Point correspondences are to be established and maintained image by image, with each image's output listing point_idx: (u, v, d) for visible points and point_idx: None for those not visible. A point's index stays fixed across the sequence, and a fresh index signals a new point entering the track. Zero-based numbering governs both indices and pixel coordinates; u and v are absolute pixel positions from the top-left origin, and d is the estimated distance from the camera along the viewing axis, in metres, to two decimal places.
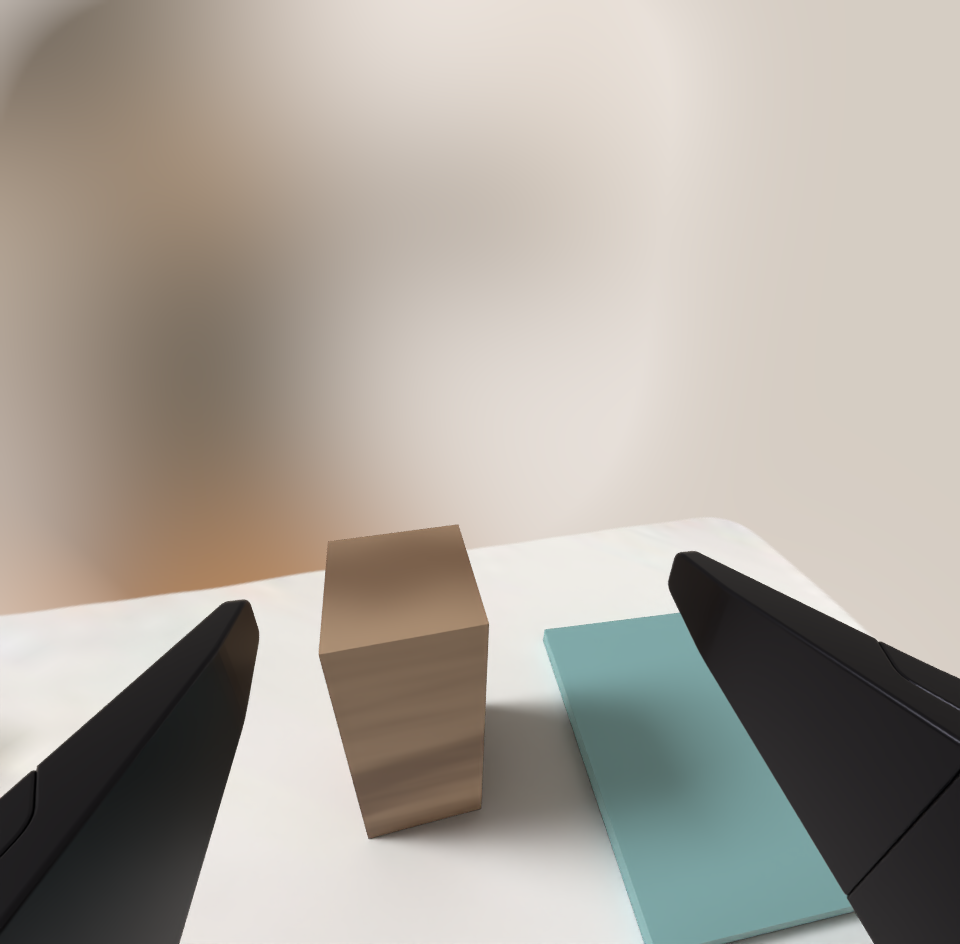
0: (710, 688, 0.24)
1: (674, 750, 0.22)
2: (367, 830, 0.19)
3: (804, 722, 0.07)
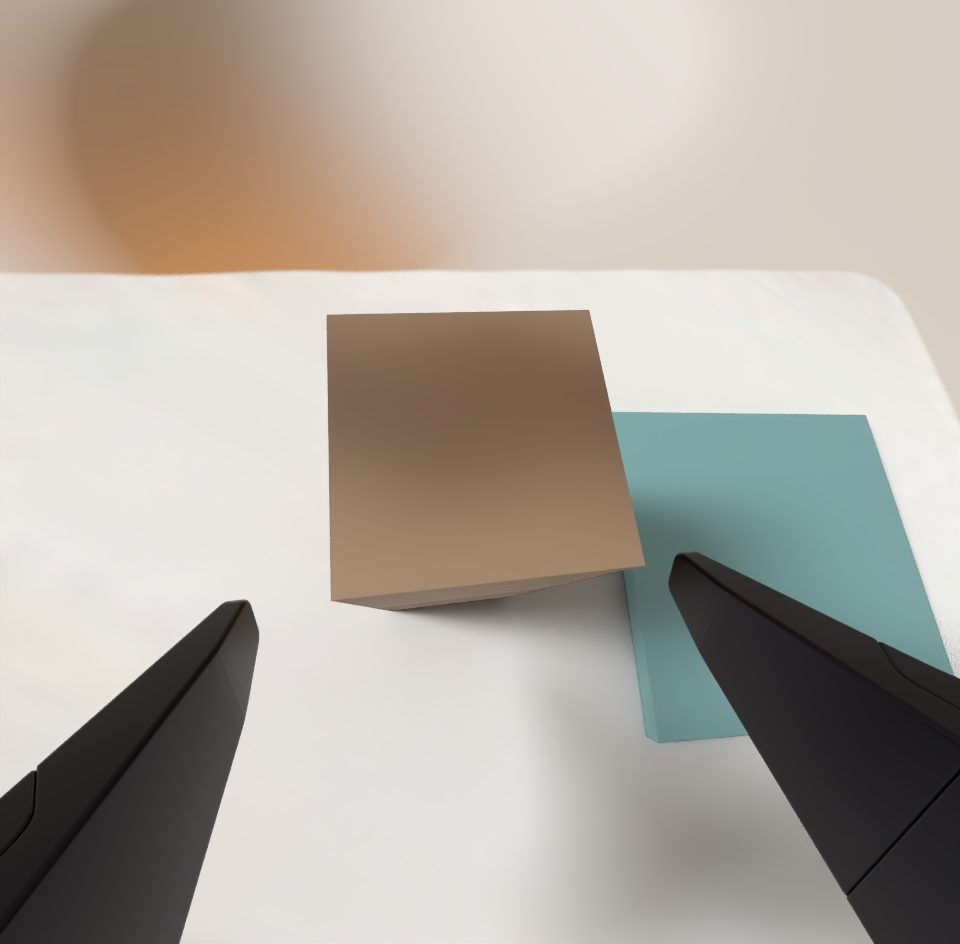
0: (785, 512, 0.21)
1: None
2: (389, 610, 0.18)
3: (804, 722, 0.07)
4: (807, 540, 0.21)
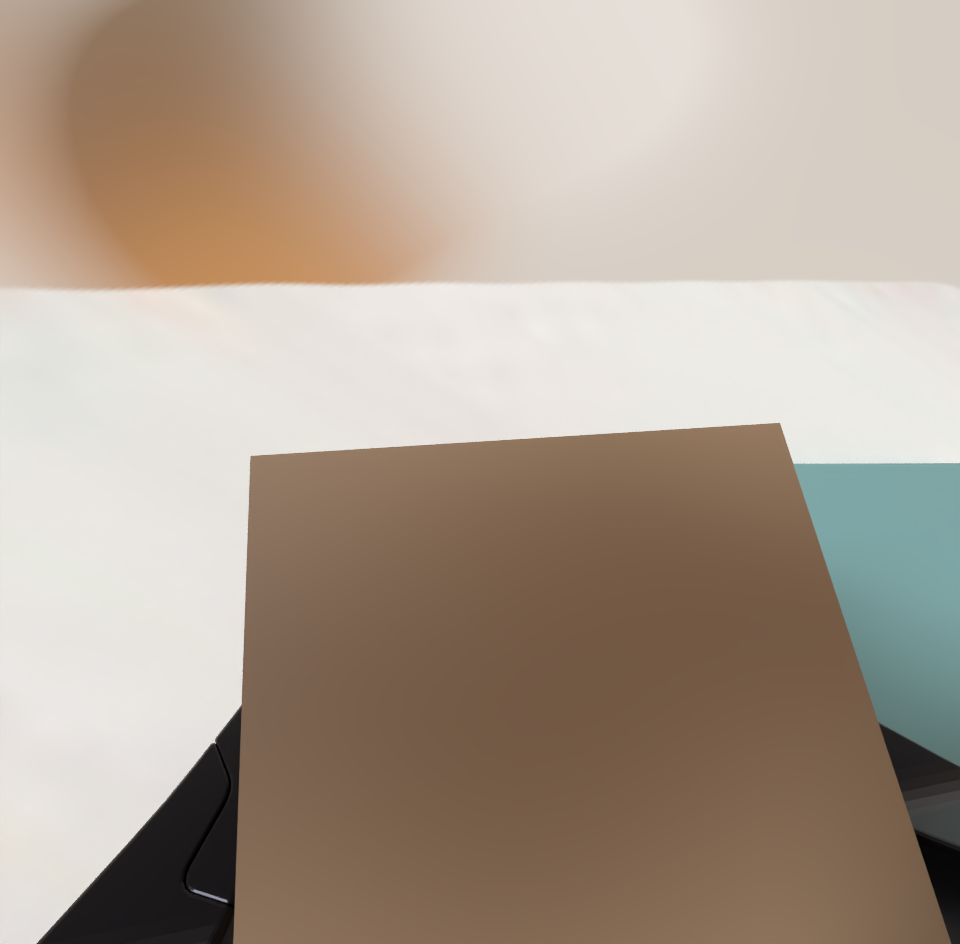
0: (885, 593, 0.17)
1: None
2: None
3: None
4: (914, 629, 0.16)
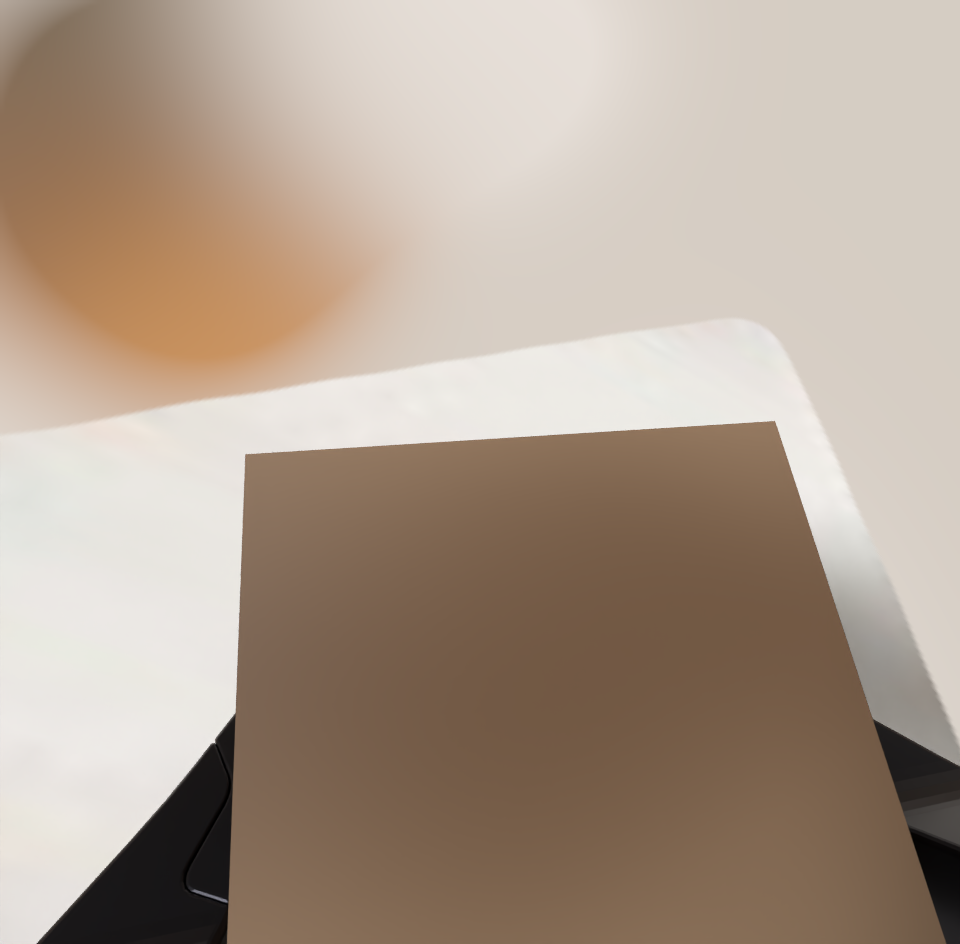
0: None
1: None
2: None
3: None
4: None
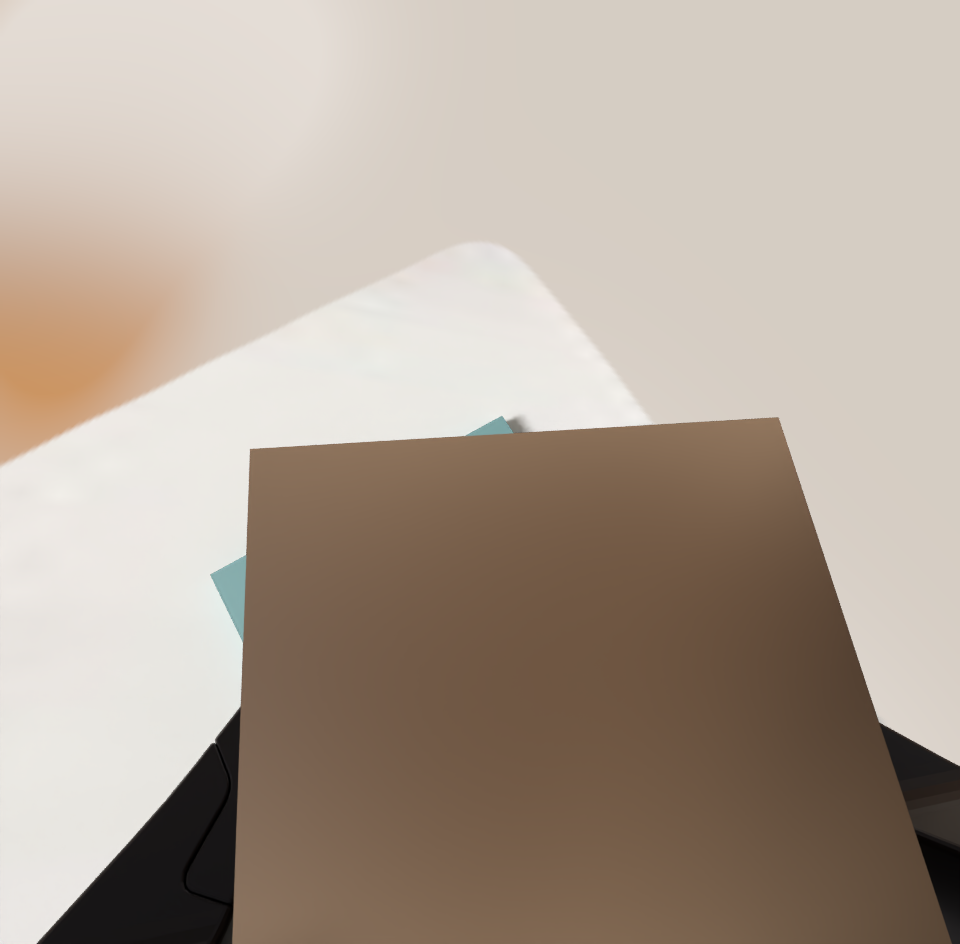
0: None
1: None
2: None
3: None
4: None
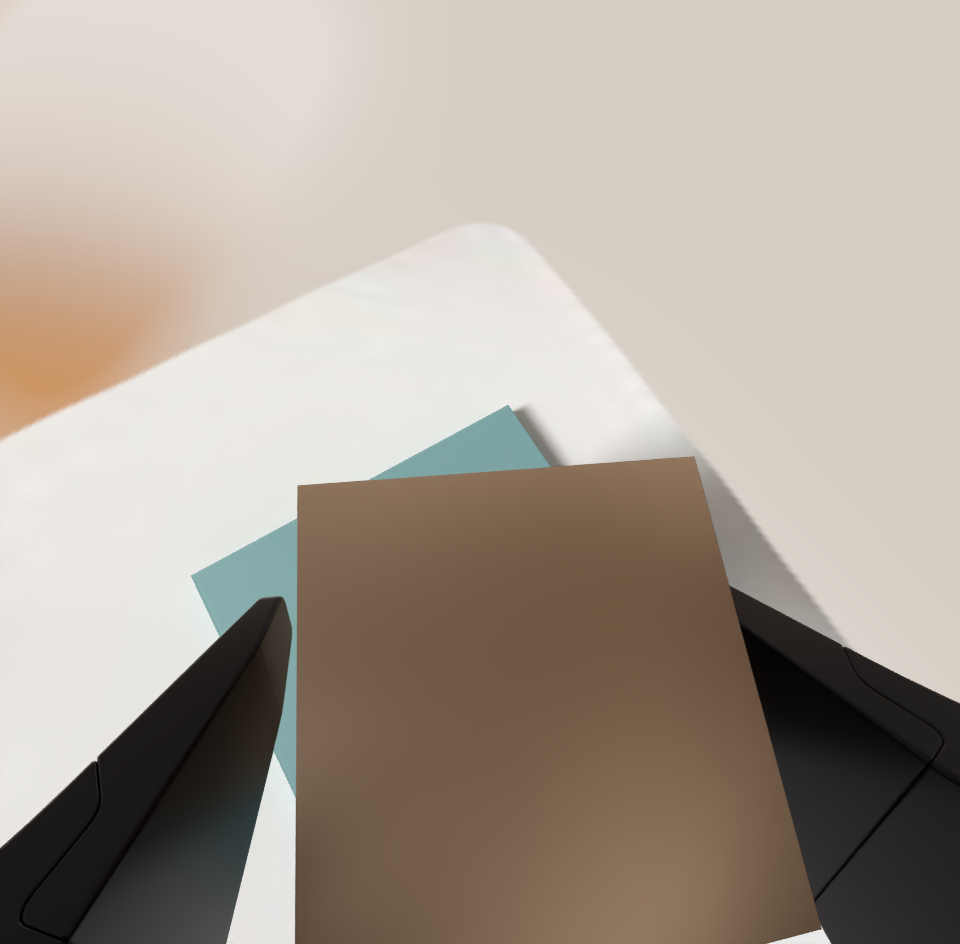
0: None
1: None
2: None
3: (769, 728, 0.07)
4: None
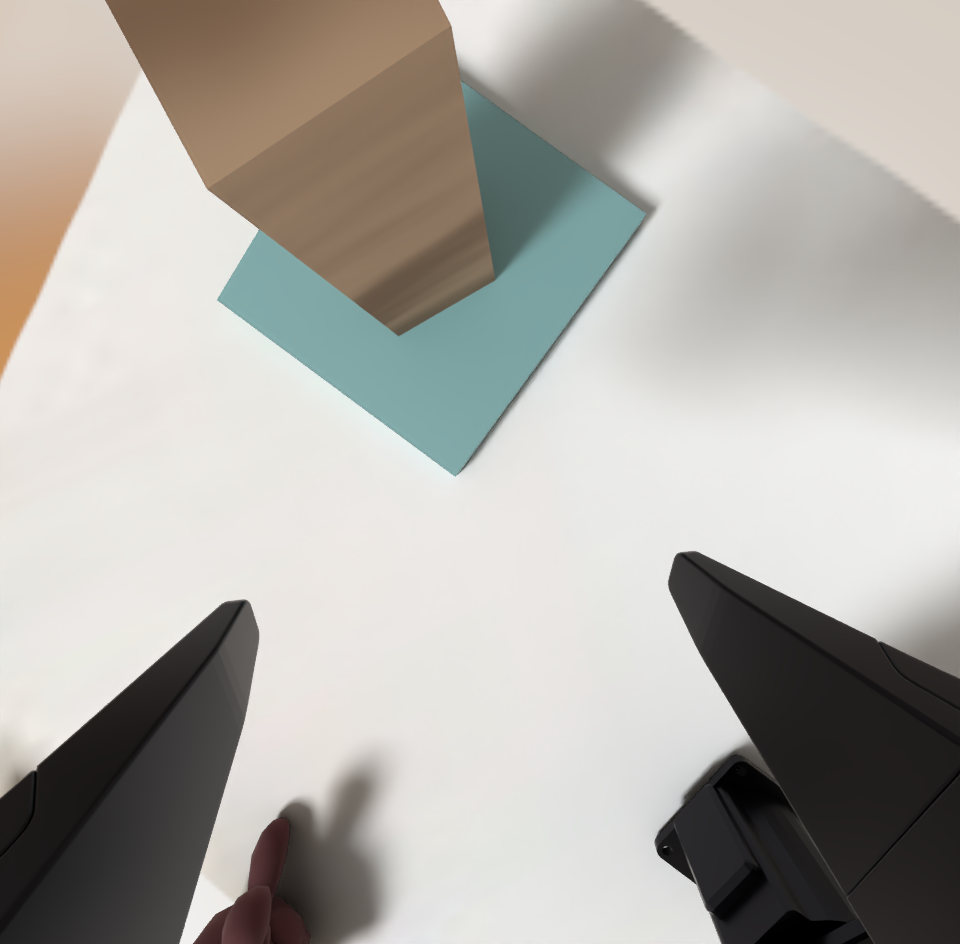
0: None
1: None
2: (394, 331, 0.20)
3: (804, 722, 0.07)
4: None
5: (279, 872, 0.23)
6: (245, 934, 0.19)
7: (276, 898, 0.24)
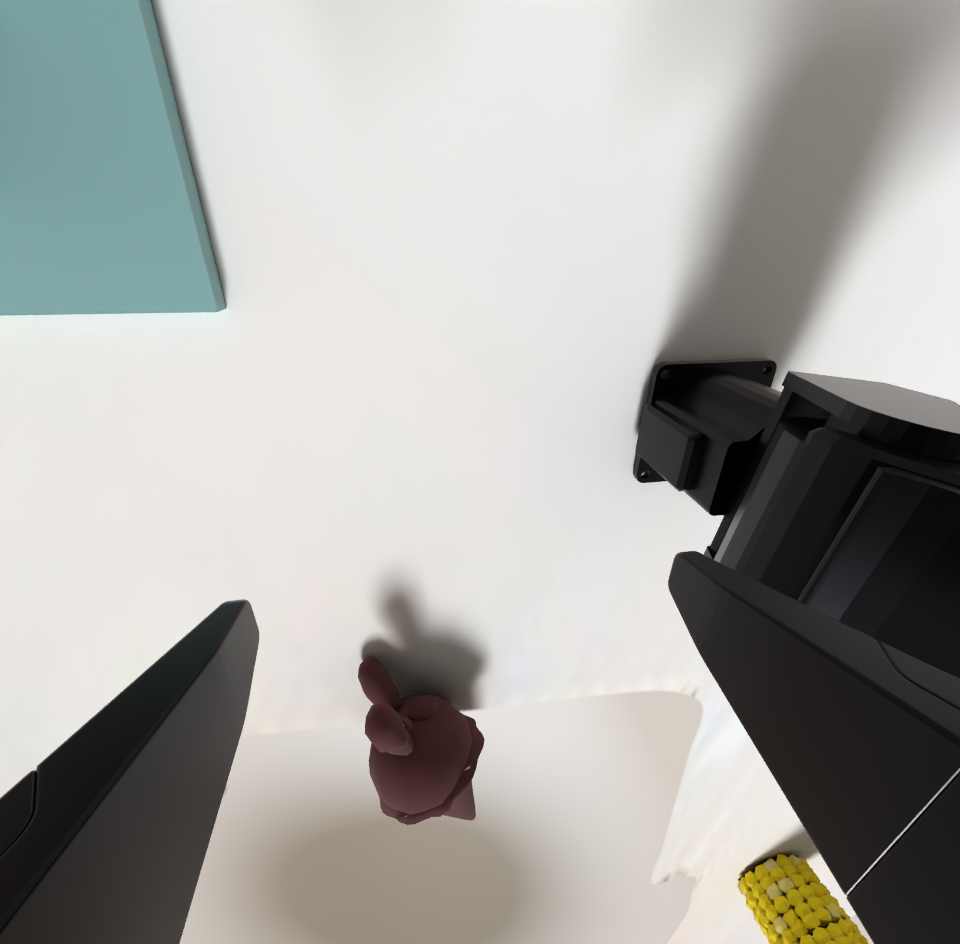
0: None
1: None
2: None
3: (804, 722, 0.07)
4: None
5: (390, 686, 0.27)
6: (383, 733, 0.23)
7: (405, 698, 0.29)
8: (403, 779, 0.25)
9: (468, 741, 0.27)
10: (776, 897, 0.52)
